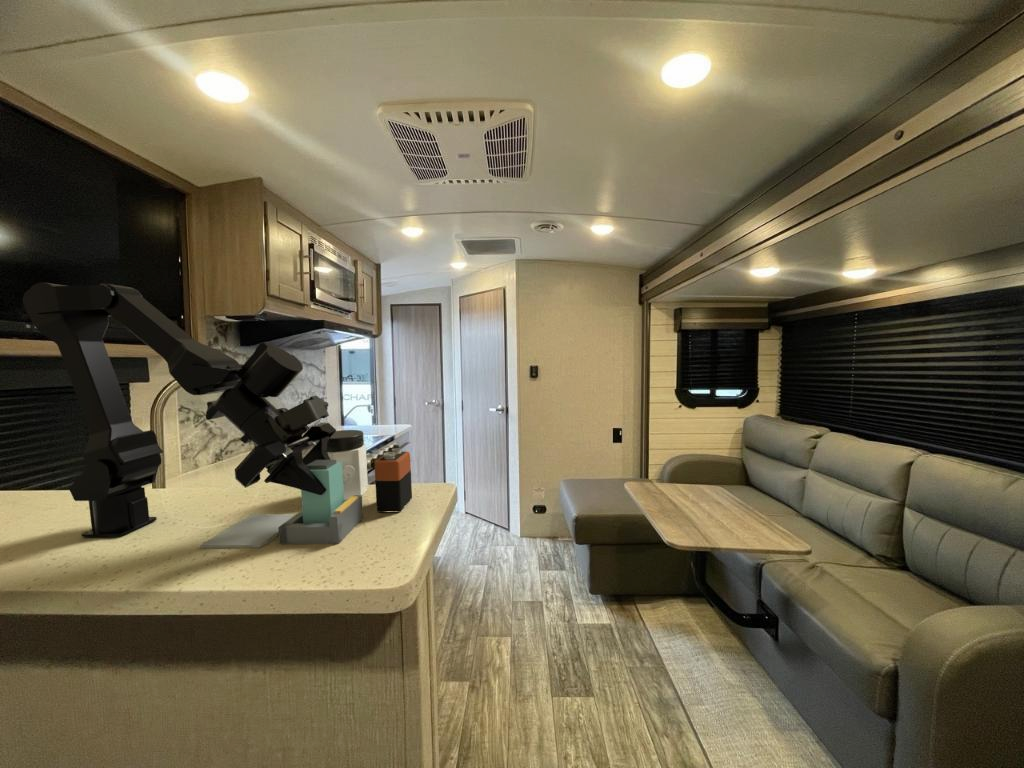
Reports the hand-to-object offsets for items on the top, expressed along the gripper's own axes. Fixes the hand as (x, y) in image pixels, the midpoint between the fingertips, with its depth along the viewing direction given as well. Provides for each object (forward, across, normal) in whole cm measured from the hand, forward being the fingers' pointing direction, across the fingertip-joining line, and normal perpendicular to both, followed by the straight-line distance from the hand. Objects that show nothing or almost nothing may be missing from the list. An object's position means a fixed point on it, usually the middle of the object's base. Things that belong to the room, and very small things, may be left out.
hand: (331, 487), depth 63 cm
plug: (+4, 0, +6) cm, 7 cm away
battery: (+10, +9, 0) cm, 13 cm away
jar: (+1, +15, +9) cm, 18 cm away
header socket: (+4, -1, +6) cm, 7 cm away
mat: (-4, -1, +13) cm, 14 cm away
